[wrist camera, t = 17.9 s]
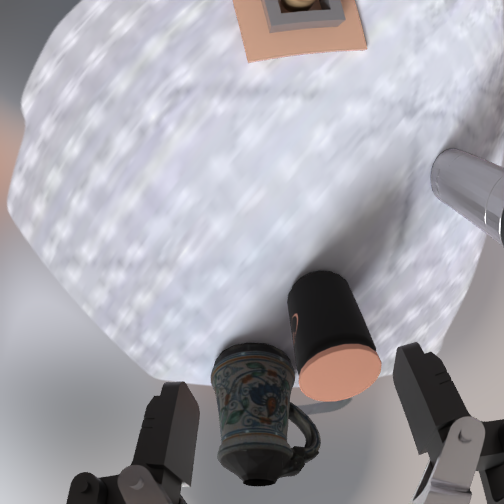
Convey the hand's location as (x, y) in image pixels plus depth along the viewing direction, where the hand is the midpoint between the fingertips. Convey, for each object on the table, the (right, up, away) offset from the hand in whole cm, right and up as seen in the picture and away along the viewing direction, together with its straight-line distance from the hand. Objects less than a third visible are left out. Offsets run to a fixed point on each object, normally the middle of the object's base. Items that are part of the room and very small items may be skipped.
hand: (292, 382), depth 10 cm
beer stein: (0, -18, +48) cm, 52 cm away
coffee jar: (+10, -2, +40) cm, 41 cm away
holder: (+4, +37, +19) cm, 42 cm away
